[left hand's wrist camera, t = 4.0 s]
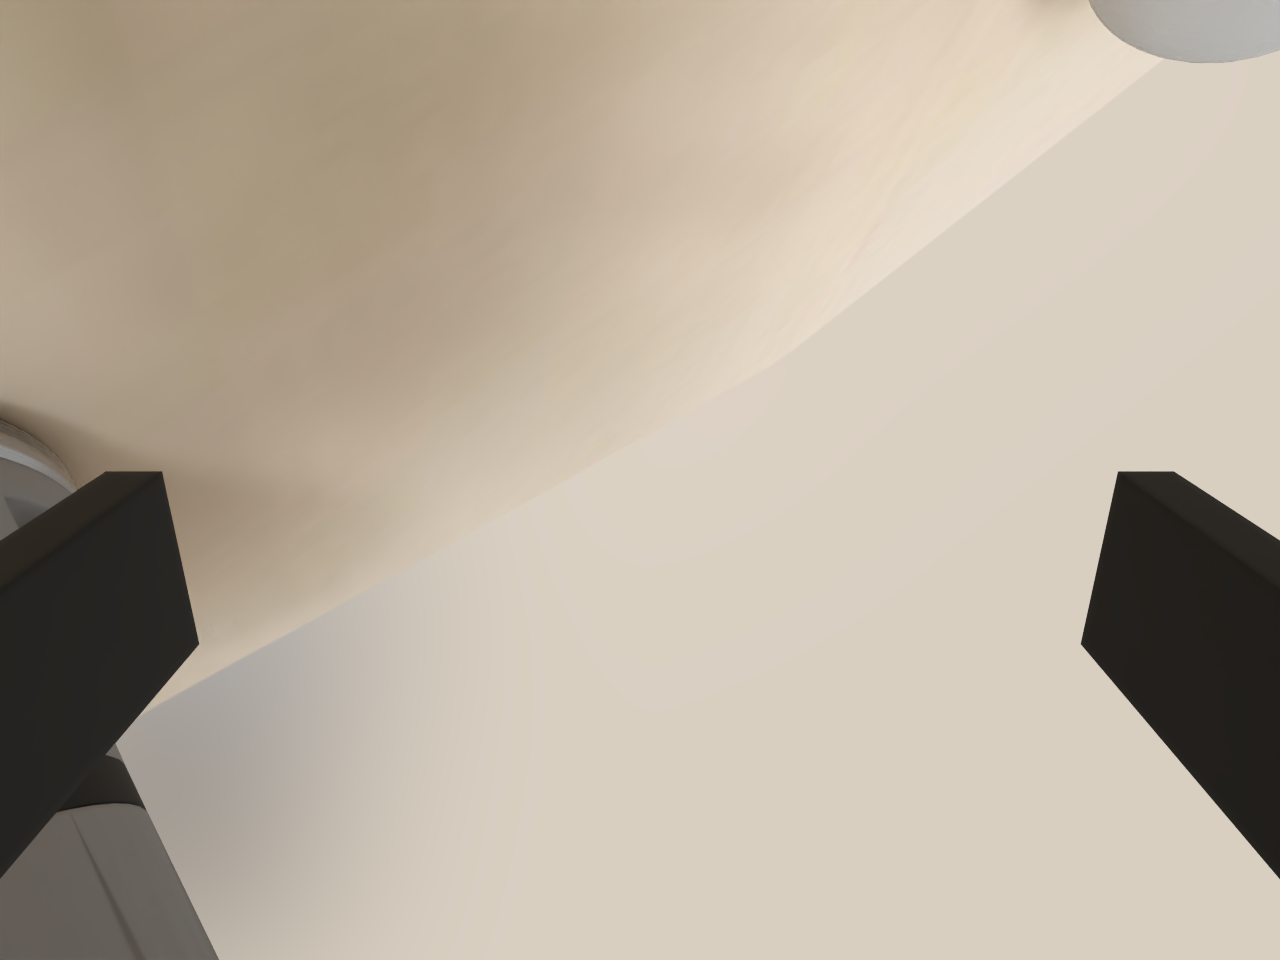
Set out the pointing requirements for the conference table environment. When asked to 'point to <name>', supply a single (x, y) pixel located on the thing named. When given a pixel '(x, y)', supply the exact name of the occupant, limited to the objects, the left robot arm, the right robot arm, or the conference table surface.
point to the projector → (1194, 27)
